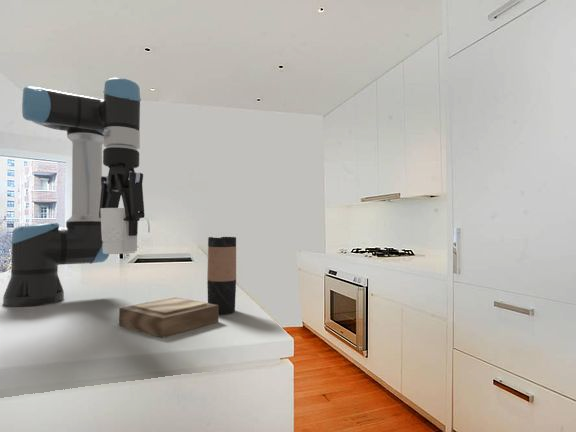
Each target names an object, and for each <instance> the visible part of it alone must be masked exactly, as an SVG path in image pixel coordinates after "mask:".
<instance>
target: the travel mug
mask: <svg viewBox="0 0 576 432" xmlns="http://www.w3.org/2000/svg"><path fill="white" fill-rule="evenodd" d="M206 281H207V283H206V285H207V288H206V289H207V303H210V304H215V305H219V316H223V315H231V314H234V313H235V312H236V296H237V295H236V293H237V237H236V236H221V237H213V236H208V237H207V280H206Z"/></svg>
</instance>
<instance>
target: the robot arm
mask: <svg viewBox="0 0 576 432" xmlns="http://www.w3.org/2000/svg"><path fill="white" fill-rule="evenodd" d="M140 91H141V90H140V86H139V84H138V83H136V82H135V81H133V80H130V79H126V78H122V77H113V78H111V77H110V78H108V79H106V80H105V82H104V88H103V99H101V98H95V97H90V96H86V95H85V96H84V95H80V94H73V93H67V92H61V91H59V90H58V91H57V90H53V89H46V88H43V87H36V86H25V87H24V88H23V89H22V101H21V102H22V104H21V106H22V107H21V113H22V117H23V120H25V121H30V122H32V123H34V124H37V125H39V126H42V127H45V128H48V129H51V130H52V129H53V130H59V131H64V132H66V138H67V139H68V140H69V141H70V142H72V154H71V155H72V156H71V157H72V160H71V161H72V163H71V165H72V167H71V168H72V170H71V173H72V174H71V175H72V176H71V177H72V178H71V216H70V217H69V218H68V220H66V221H65V222H66V223H65V226H60V224H59V222H49V223H48V222H46V223H39V224H30V225H27V224H26V225H21V226H17V227H15V228H14V229H13V231H12V236H11V237H12V238H11V242H10V245H11V266H10V267H11V268H10V269H11V270H10V273H11V275H10V279H9V282H8V285H7V286H6V289H5V291H4V293H3V297H2V300H3V301H2V305H4V306H6V307H7V306H8V307H30V306H41V305H42V306H43V305H49V304H54V303H57V302H61V301H63V300H64V299H65V292H64V289H63V285H62V283H61V280H60V277H59V274H58V272H59V271H58V269H59V265H60V266H61V265H80V264H81V265H83V264H91V265H92V264H96V263H103V262H105V261H107V259H108V257H110V254H103V246H102V243H103V242H102V234H101V211H100V209H101V208H119V205H120V201H121V200H122V204H123V208H125V214H126V218H124V219H123V220H124V251H135V252H138V233H139V232H138V228H139V227H138V226H139V225H138V223H139V221H140V219H144V218H145V204H144V193H143V182H144V181H143V179H144V173H142V172H136V171H135V169H137V168H139V167H140V152H139V150H140V146H141V143H140V136H141V135H140V133H141V132H140V128H141V127H140V124H141V123H140V120H141V119H140V118H141V117H140V116H141V101H142V99H141V92H140ZM103 147H105V148H104V149H103ZM103 165H104V166H106V167H108V169H109V170H108V174H107V176H103V170H102V169H103V168H102V167H103ZM121 198H122V199H121Z"/></svg>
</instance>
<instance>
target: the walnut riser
mask: <svg viewBox="0 0 576 432" xmlns="http://www.w3.org/2000/svg"><path fill="white" fill-rule="evenodd" d="M118 310H119V311H118V314H119V315H118V326H121V327H123V328H126V329H131V330H134V331H139V332H140V333H141V332H142V333H145V334H149V335H153V336H156V337H160V338H166V337H169V336H172V335H176V334H180V333H183V332H186V331H191V330H194V329H198V328H200V327H205V326H208V325H212V324H215V323H218V322H219V317H220V315H219V305H215V304H210V303H208V302H202V301H198V300H193V299H186V298H182V297H170V298H164V299H160V300H155V301H148V302H142V303H138V304H133V305H129V306H123V307H119V308H118Z"/></svg>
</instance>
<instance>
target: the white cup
mask: <svg viewBox="0 0 576 432" xmlns="http://www.w3.org/2000/svg"><path fill="white" fill-rule="evenodd" d="M100 211H101V234H102V242H103V243H102V246H103V254H109V255H126V254H135V253H136V251H124V220H123V219H124V218H126V214H125V208H124V207H118V208H101V209H100Z"/></svg>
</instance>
